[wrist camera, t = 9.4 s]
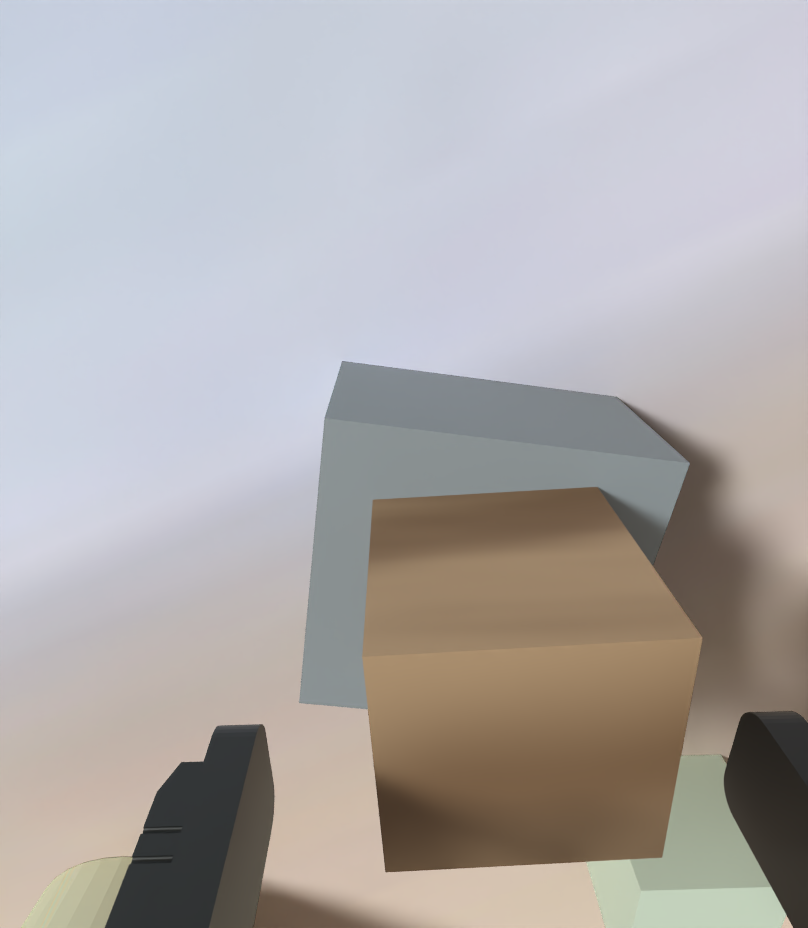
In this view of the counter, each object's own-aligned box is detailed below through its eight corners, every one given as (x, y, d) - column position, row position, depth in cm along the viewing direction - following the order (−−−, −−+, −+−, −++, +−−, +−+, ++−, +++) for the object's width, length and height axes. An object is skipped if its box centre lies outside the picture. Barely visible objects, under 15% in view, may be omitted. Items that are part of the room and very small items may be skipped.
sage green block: (593, 756, 24) (641, 890, 19) (719, 753, 24) (797, 886, 19) (579, 839, 26) (620, 979, 21) (696, 836, 26) (761, 975, 21)
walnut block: (372, 499, 13) (361, 656, 9) (597, 486, 13) (702, 637, 9) (387, 672, 15) (385, 872, 11) (582, 661, 15) (662, 857, 11)
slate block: (343, 359, 17) (324, 418, 13) (613, 394, 18) (689, 463, 13) (320, 589, 20) (299, 703, 16) (550, 613, 21) (594, 729, 16)
